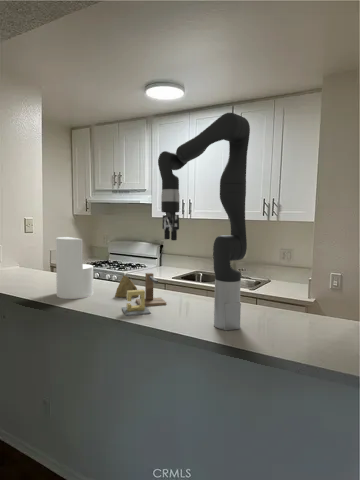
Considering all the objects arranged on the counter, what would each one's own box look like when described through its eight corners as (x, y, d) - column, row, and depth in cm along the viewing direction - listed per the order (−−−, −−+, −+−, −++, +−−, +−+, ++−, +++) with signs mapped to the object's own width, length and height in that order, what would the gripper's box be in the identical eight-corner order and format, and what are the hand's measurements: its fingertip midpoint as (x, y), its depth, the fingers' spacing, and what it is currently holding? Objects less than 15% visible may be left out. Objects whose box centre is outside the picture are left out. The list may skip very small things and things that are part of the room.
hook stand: (169, 307, 142) (170, 278, 141) (142, 309, 138) (142, 279, 137) (160, 299, 156) (161, 272, 155) (135, 301, 152) (135, 273, 151)
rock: (144, 291, 162) (130, 285, 168) (138, 279, 157) (124, 273, 163) (130, 307, 157) (116, 300, 162) (124, 295, 151) (109, 289, 157)
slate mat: (150, 313, 133) (150, 312, 133) (126, 315, 130) (126, 314, 130) (144, 306, 143) (144, 305, 143) (121, 308, 140) (121, 307, 140)
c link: (144, 310, 136) (144, 291, 135) (127, 311, 134) (127, 292, 133) (143, 308, 139) (143, 289, 138) (126, 309, 137) (126, 290, 136)
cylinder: (65, 300, 151) (64, 239, 148) (51, 293, 164) (50, 237, 161) (99, 295, 162) (99, 238, 160) (84, 288, 175) (83, 236, 173)
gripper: (185, 200, 132) (185, 240, 133) (173, 202, 145) (173, 238, 146) (167, 199, 129) (167, 241, 130) (156, 201, 142) (156, 239, 143)
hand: (170, 239), depth 138 cm, fingers open, 8 cm apart
